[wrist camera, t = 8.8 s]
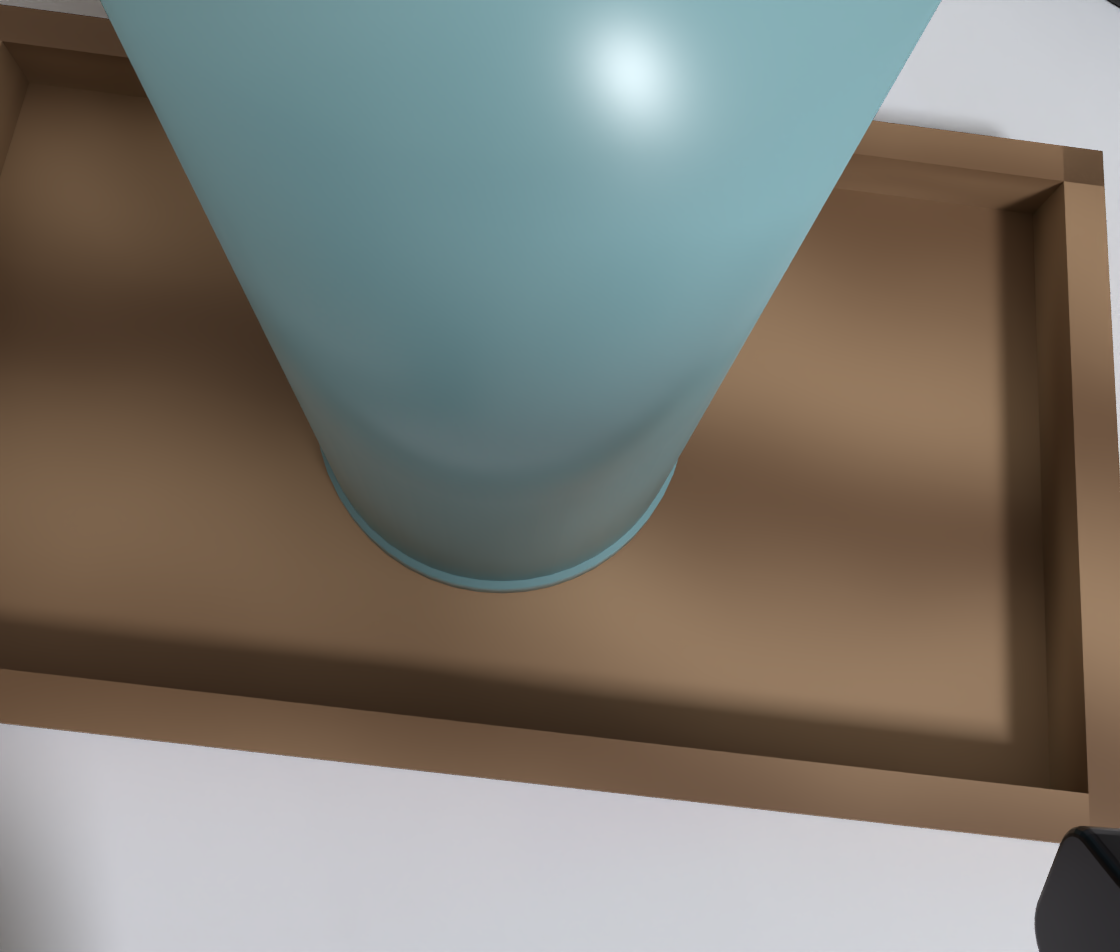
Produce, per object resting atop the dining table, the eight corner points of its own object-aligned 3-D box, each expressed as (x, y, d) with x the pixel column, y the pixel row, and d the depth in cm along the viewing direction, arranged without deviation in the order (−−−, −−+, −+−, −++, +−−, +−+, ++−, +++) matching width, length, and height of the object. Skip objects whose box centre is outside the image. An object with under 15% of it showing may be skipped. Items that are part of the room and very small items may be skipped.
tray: (1078, 845, 18) (1139, 851, 17) (-188, 702, 18) (-262, 692, 16) (1054, 200, 22) (1102, 151, 20) (12, 64, 21) (-30, 0, 20)
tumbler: (431, 663, 18) (298, 378, 5) (259, 353, 19) (-158, -433, 7) (746, 480, 19) (1218, -83, 7) (563, 204, 21) (675, -684, 8)
